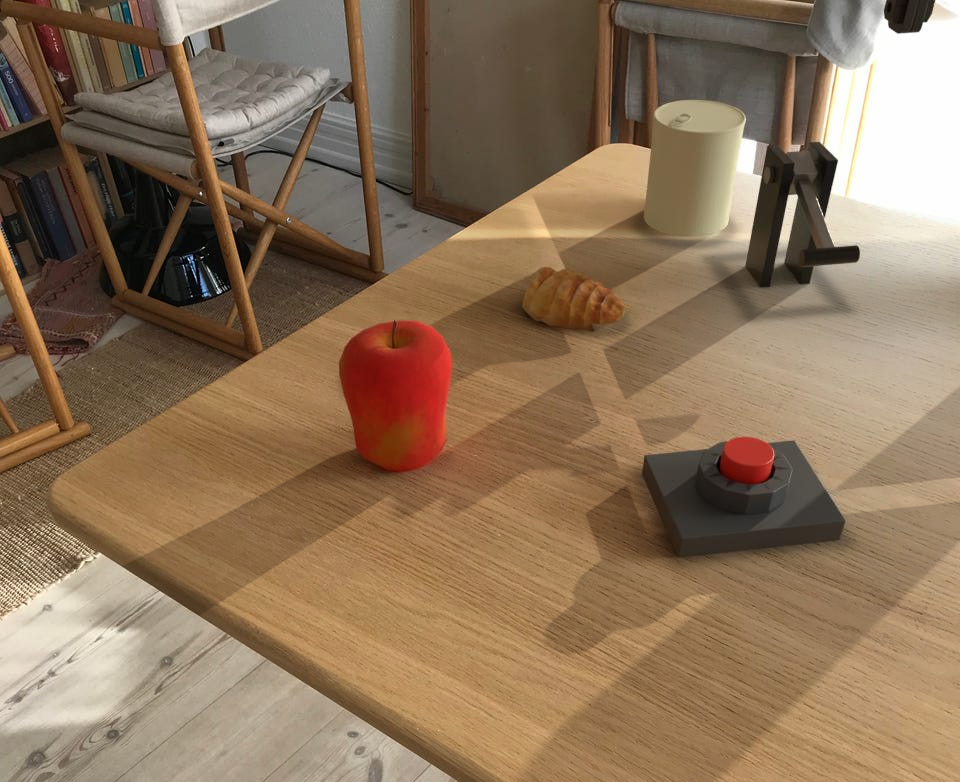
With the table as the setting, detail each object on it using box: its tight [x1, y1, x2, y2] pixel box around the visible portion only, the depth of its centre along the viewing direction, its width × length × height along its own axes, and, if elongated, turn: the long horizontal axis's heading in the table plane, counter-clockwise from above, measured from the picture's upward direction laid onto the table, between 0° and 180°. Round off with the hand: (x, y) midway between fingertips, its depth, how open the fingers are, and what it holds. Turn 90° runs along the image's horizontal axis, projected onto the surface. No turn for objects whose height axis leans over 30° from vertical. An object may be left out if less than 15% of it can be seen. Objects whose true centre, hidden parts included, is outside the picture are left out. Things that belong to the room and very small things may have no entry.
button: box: [720, 436, 774, 485], centre depth 75 cm, size 4×4×2 cm
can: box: [643, 99, 747, 238], centre depth 107 cm, size 9×9×12 cm
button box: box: [641, 440, 846, 559], centre depth 76 cm, size 12×10×4 cm
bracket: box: [745, 141, 839, 289], centre depth 98 cm, size 12×9×13 cm
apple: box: [338, 319, 453, 473], centre depth 79 cm, size 9×8×12 cm
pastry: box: [521, 266, 626, 333], centre depth 97 cm, size 9×7×4 cm
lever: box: [785, 150, 861, 267], centre depth 92 cm, size 12×5×2 cm, turn 9°
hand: (903, 29), depth 72 cm, fingers closed
